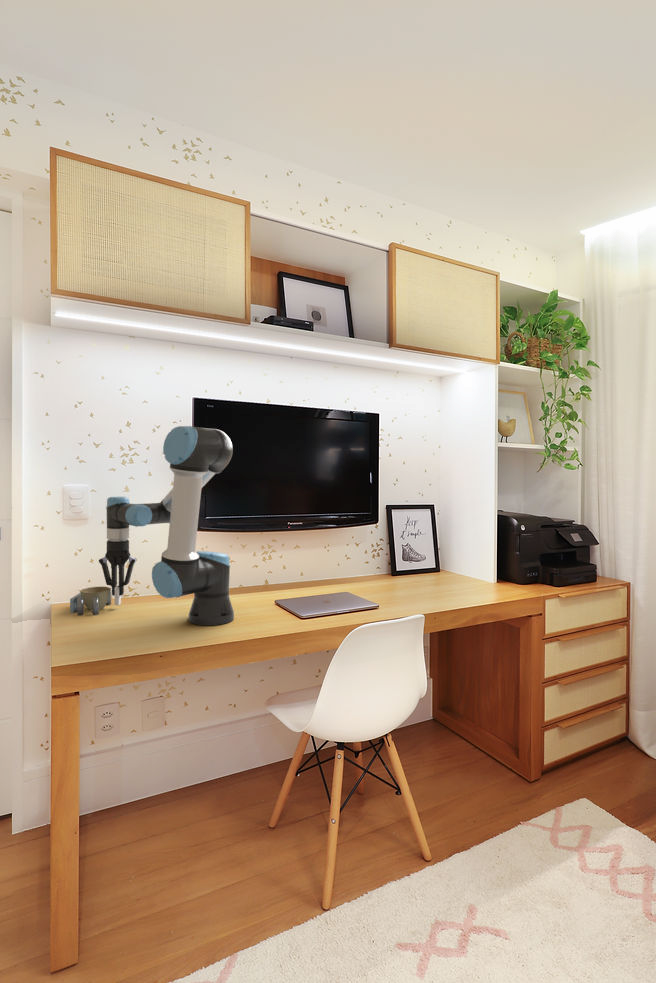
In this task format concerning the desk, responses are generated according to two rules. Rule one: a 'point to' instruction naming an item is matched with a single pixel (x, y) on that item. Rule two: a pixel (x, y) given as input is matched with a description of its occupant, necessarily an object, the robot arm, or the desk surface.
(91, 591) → the flower pot
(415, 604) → the desk surface
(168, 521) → the robot arm
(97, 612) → the pin cradle
